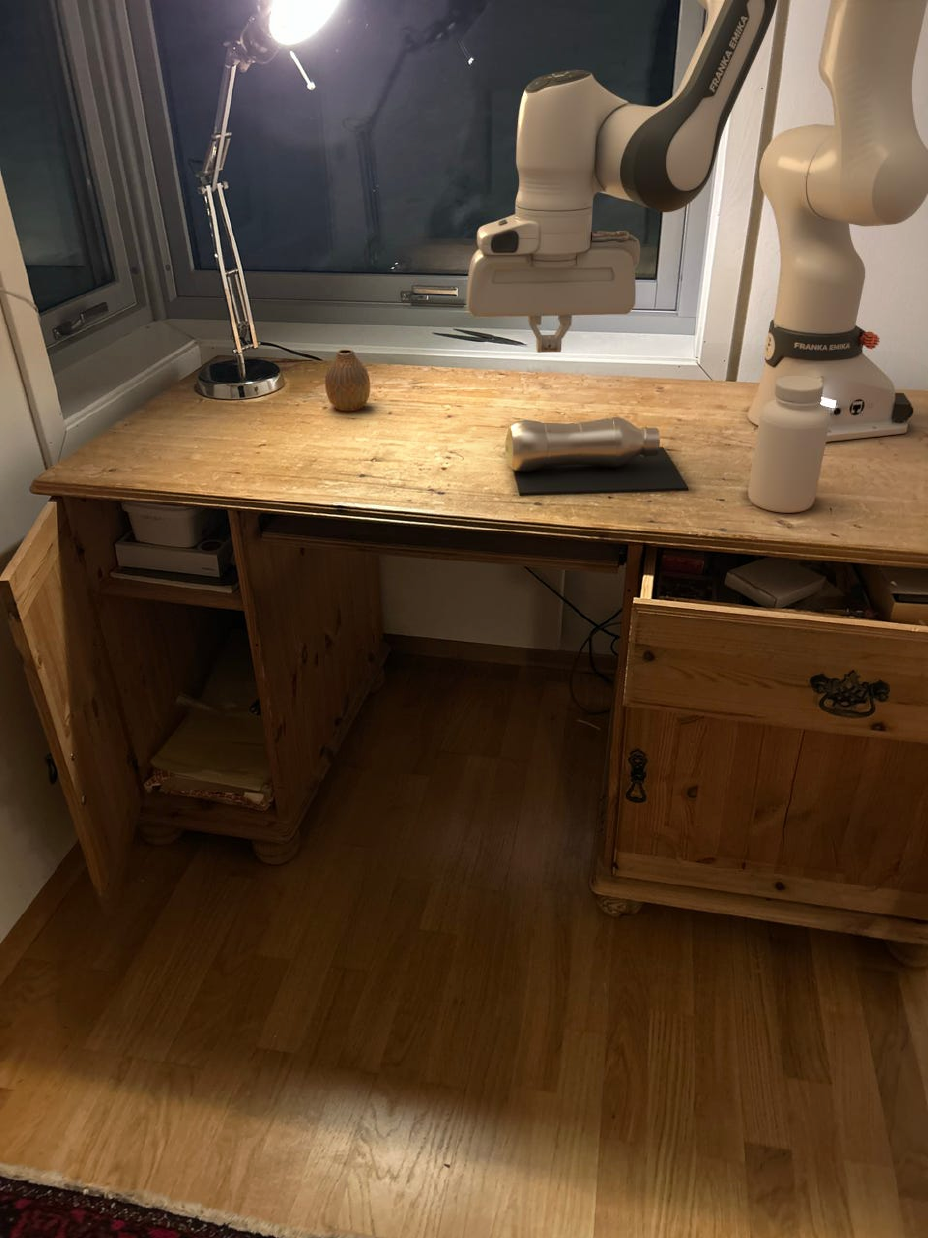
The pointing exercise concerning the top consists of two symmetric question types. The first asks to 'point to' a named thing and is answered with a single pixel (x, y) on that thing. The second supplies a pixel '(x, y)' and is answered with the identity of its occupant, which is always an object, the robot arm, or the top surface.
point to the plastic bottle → (578, 443)
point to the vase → (347, 382)
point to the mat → (604, 477)
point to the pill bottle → (789, 446)
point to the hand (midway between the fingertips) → (548, 351)
